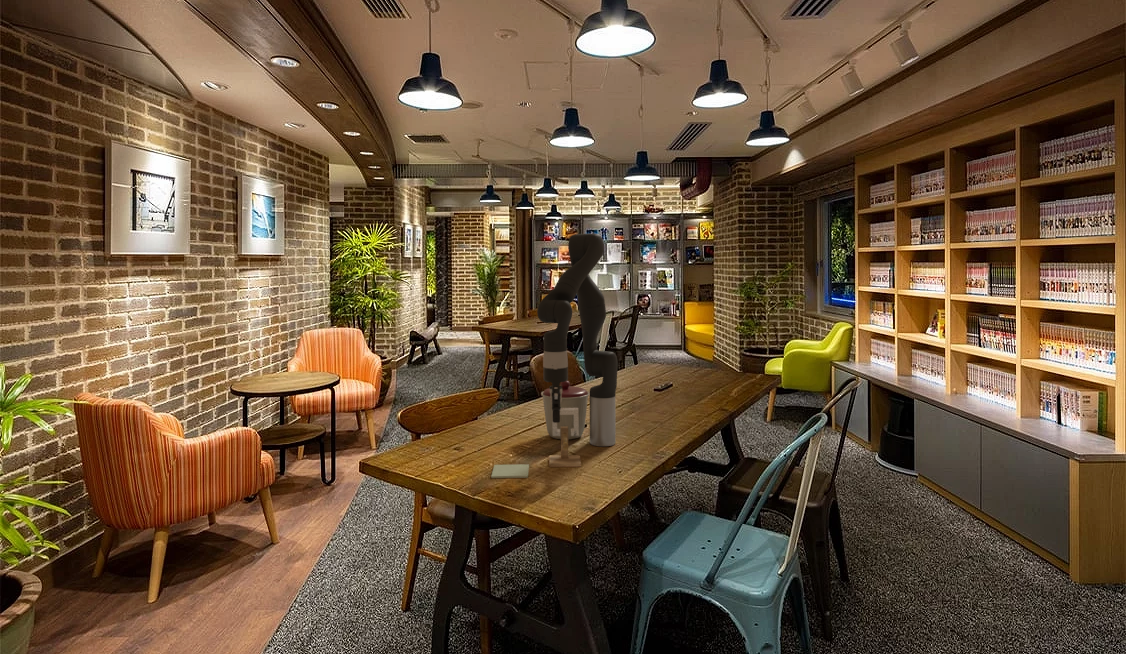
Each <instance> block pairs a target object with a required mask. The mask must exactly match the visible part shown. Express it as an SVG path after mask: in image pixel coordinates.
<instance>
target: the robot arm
mask: <svg viewBox="0 0 1126 654" xmlns="http://www.w3.org/2000/svg"><path fill="white" fill-rule="evenodd" d="M567 247H568V256H569V260H570V264H571V266H570V267H569V268H568V269H566V270H565V271H564V272H563V273H562V274H561V275H560V277H559V278H558V280H557V282H556V284H555V286H554V288H553V289H552V290H550V291H549V292H548V293H547V294H546V295H545V296H544V297H543V299H542V300H541V301H540V302H539V304H538V305H537V311H536V315H537V317H538V319H539V321H541V322H542V323H545V324H557V325H556V328H555V329H554V330H550V331H545V332H544V335H543V357H542V367H543V368H542V370H543V371H542V372H543V373H542V374H543V375H542V376H543V381H544V382H546V383H551V385H550V386H549V390H550V402H551V403H552V411H553V422H554V423H559V422H560V409H561V407H560V403H561V402H562V386H561V382H565V381H569V360H568V359H569V358H568V346H567V345H568V341H567V339H568V333H569V329H570V325H571V321H572V317H573V306H572V304H571V303H572V302H573V301H574V299H575V297H576V296H577V306H578V307H577V308H578V313H579V317H580V318H579V319H580V327H581V333H582V342H583V360H584V361H583V362H584V369H585V372H586V373H587V375H589V376H590V377H597V378H602V381H601V383H600V384H597V385H594V386H591V387H590V388H589V393H590V394H589V444H590V445H592V446H595V447H596V446H597V447H609V446H611V447H612V446H614V445H615V444H616V392H617V386H618V369H619V368H618V365H619V364H618V356H617V355H616V353H615V352H613V351H609V350H608V351H605V350H598V344H597V339H598V335H599V333H600V330H601V329H602V327H603V325H604V323H605V320H606V317H607V309H606V302H605V301H606V300H605V296H604V294H603V293H602V291H601V289H600V288H599V287H598V285H597V284H596V283H595V282H594V280H593V279H592V278H591V276H590V275H589V274H590V273H591V272H592V270H593V269H594V267H596V265H597V264H598V263H599V262H600V260H601V259H602V257H603V255H604V251H605V243H604V240H603V237H602V235H600V234H599V233H578V234H572V235H571V236H570V237H569V239H568V246H567Z"/></svg>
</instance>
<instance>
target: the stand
mask: <svg viewBox="0 0 1126 654" xmlns="http://www.w3.org/2000/svg"><path fill="white" fill-rule="evenodd" d="M569 448H570V447H569V439H568V427H561V439H560V454H555V455H549V457H548V458H549V464H548V465H549V468H555V467H557V468H559V467H560V468H561V467H562V468H564V467H567V468H569V467H571V468H572V467H573V468H574V467H575V468H576V467H577V468H578V467H582V462H581V461H582V460H581V456H580V454H569Z"/></svg>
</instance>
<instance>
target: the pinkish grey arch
mask: <svg viewBox="0 0 1126 654" xmlns="http://www.w3.org/2000/svg"><path fill="white" fill-rule="evenodd" d="M560 415H574V429H571V436H579V412H578V408H561V409H560ZM552 429H553V436H560V429H557V423H554V422H553V411H552Z"/></svg>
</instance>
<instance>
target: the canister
mask: <svg viewBox="0 0 1126 654" xmlns="http://www.w3.org/2000/svg"><path fill="white" fill-rule="evenodd" d="M560 386H562V402H561V403H560V407H561V408H578V412H579V436H571V429H574V415H560V422H559V423H557V429H560V436H553V429H552V403H551V402H550V390H549V388H546V389H544V391H541V393H540V395H541V397H542V400H543V409H544V418H545V425H546V431H547V434H548V435H549V437H551V438H553V439H555V440H561V427H568V440H575V439H578V438H580V437H582V436H583V434H584V431H585V427H586V426H585V425H586V418H587V408H588V398H589V397H590V391H588V390H587V389H586V388H583V387H579V386H574V385H573V386H572V385H571V383H570V381H569V380H567V381H565V382H560Z"/></svg>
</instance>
